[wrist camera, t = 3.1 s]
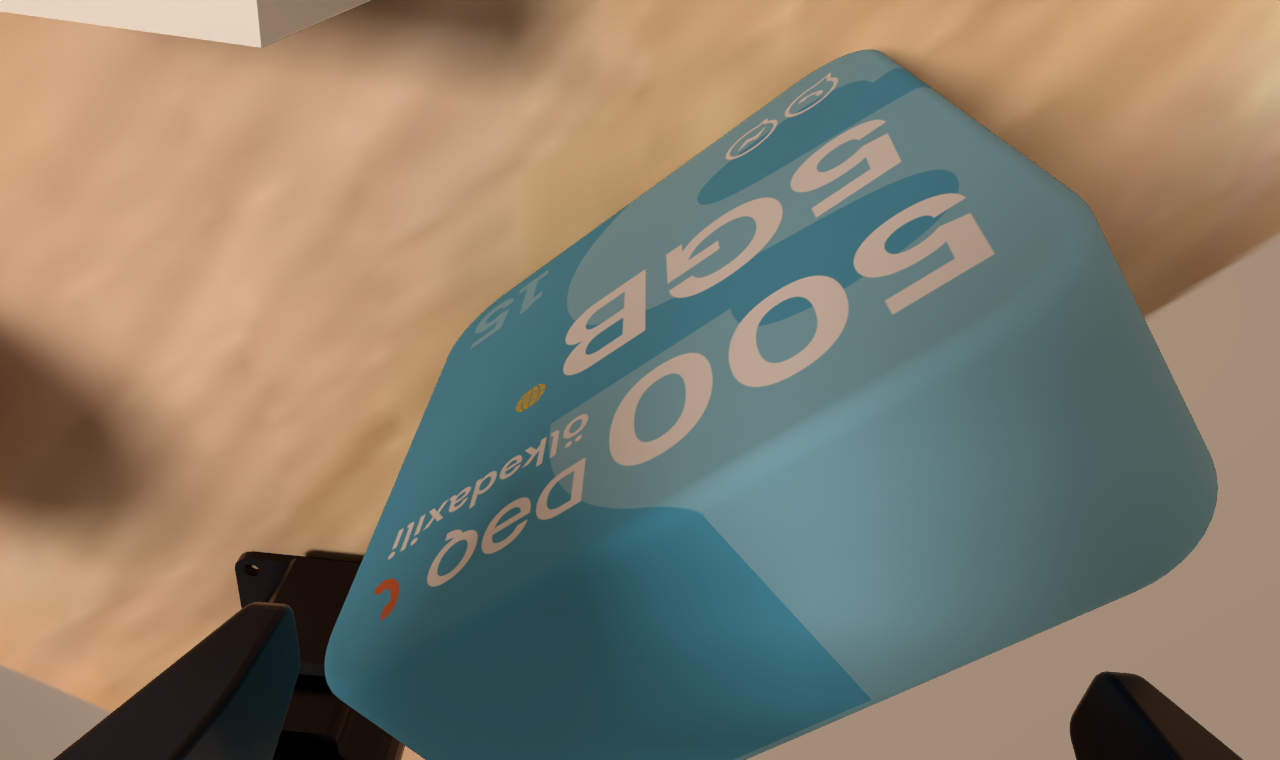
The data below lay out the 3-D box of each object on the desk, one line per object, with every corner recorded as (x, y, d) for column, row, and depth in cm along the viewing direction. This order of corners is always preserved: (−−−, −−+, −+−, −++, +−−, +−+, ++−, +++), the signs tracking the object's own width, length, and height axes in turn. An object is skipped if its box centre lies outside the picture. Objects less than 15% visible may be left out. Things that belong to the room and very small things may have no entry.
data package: (861, 31, 18) (1153, 237, 8) (954, 194, 20) (1288, 536, 9) (456, 326, 22) (282, 728, 11) (566, 438, 23) (502, 873, 13)
